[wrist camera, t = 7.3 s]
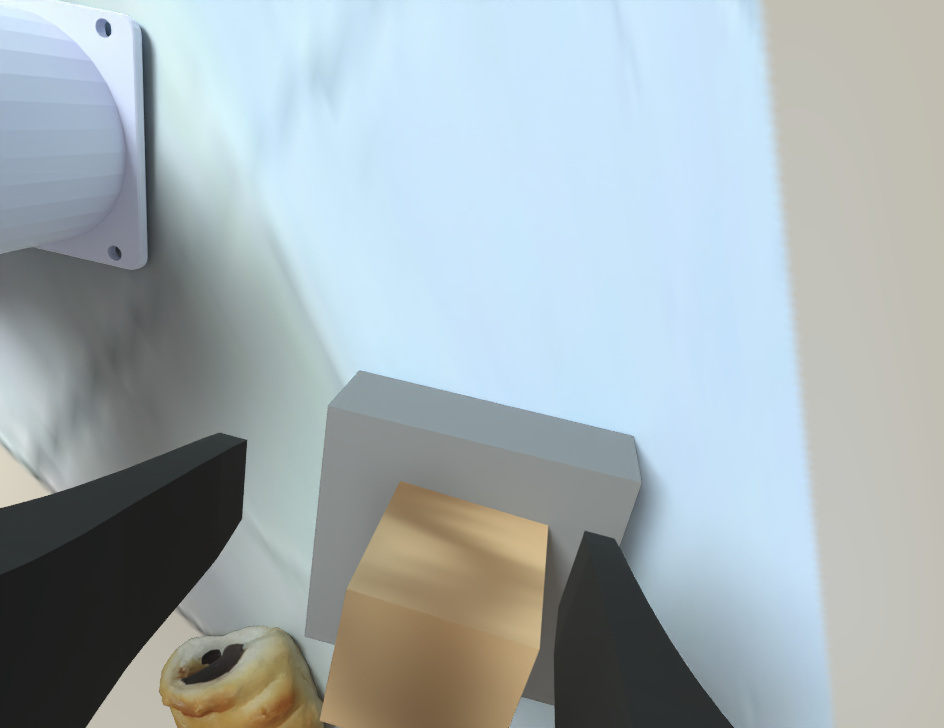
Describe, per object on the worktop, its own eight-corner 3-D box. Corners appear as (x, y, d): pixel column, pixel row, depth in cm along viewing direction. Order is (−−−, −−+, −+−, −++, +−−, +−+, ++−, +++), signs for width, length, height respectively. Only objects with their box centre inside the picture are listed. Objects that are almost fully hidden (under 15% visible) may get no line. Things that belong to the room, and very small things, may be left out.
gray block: (333, 581, 26) (304, 636, 23) (359, 370, 22) (328, 405, 19) (564, 643, 25) (562, 708, 22) (633, 436, 21) (641, 482, 18)
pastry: (367, 758, 30) (339, 842, 26) (253, 767, 32) (213, 846, 28) (291, 611, 27) (248, 683, 24) (170, 630, 29) (114, 700, 25)
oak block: (374, 594, 22) (319, 720, 17) (399, 480, 20) (346, 588, 15) (508, 636, 21) (489, 776, 17) (548, 525, 19) (539, 649, 15)
